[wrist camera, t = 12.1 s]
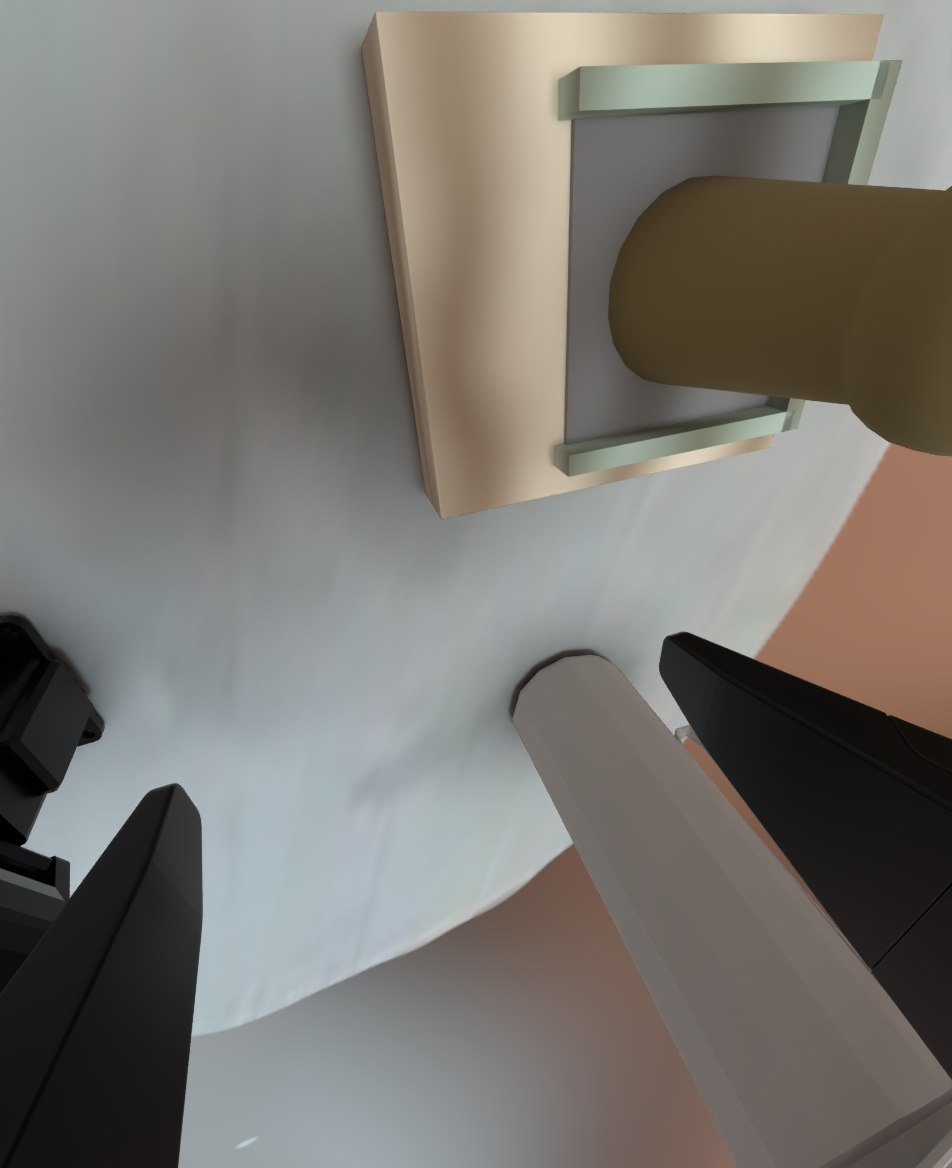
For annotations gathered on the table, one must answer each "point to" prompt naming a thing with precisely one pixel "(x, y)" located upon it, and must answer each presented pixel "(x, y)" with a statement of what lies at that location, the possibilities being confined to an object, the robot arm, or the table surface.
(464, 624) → the table surface
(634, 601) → the table surface
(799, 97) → the dock
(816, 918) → the water bottle
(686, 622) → the table surface
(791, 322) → the cork
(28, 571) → the table surface
